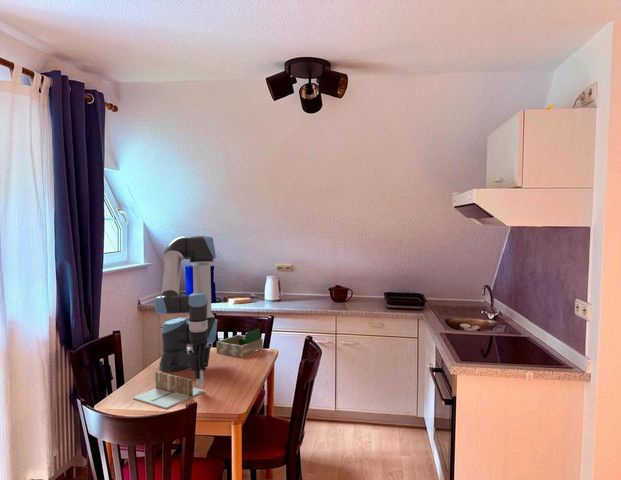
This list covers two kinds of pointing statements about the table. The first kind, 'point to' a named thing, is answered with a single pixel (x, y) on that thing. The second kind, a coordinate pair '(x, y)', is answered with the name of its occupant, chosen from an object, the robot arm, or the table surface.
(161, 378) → the fence fixed
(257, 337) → the pixelated creature
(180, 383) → the fence gate
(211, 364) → the table surface
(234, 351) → the box
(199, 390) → the card
